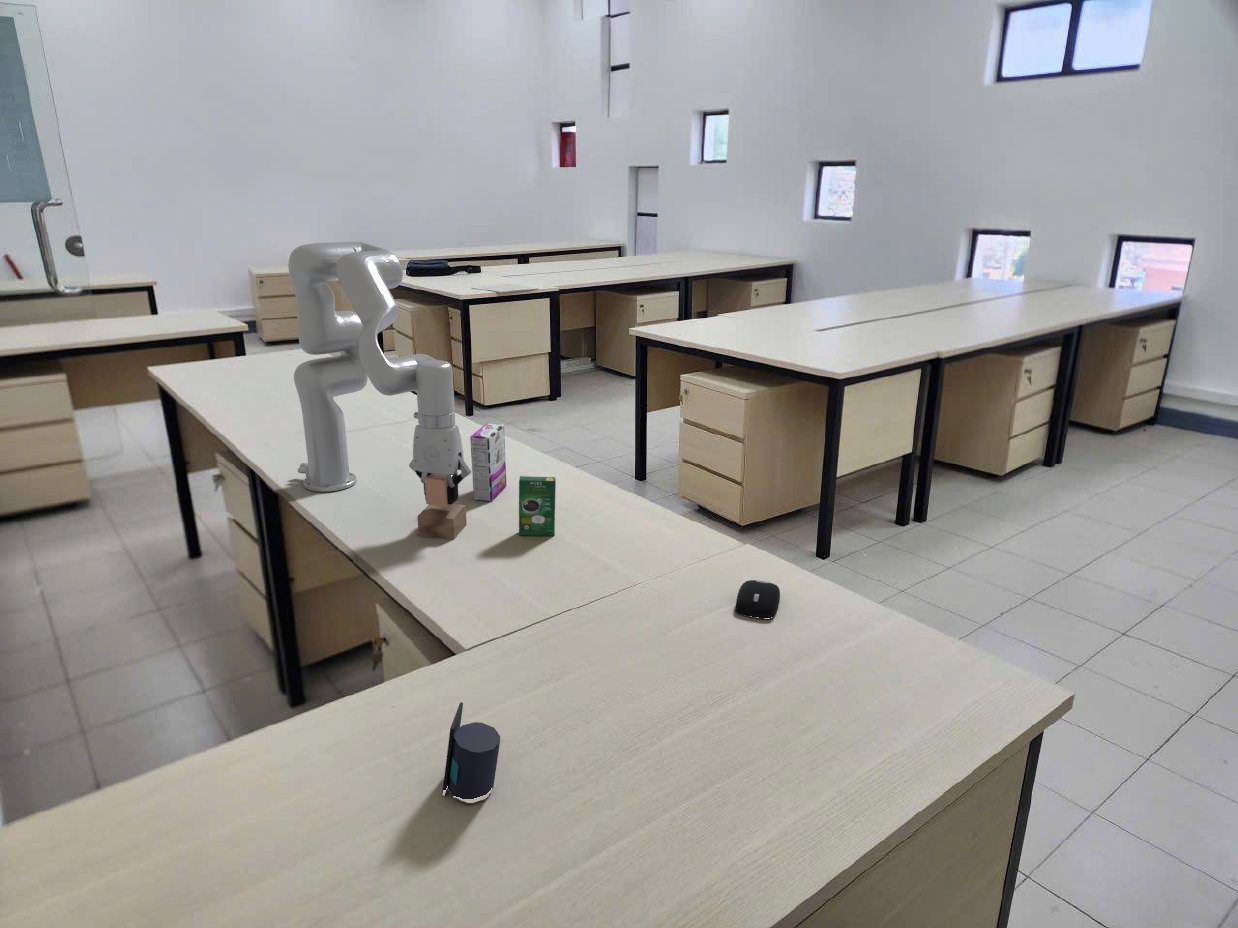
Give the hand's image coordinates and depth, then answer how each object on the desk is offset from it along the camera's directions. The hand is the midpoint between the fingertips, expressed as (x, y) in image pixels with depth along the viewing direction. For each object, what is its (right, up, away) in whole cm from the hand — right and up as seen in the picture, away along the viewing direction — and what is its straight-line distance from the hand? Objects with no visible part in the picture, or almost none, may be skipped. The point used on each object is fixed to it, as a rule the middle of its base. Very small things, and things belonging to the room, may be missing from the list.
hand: (441, 499), depth 178 cm
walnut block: (0, -7, +3) cm, 7 cm away
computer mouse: (+64, -18, -26) cm, 72 cm away
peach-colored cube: (0, 0, 0) cm, 0 cm away
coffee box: (+21, -8, +2) cm, 22 cm away
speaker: (+20, -34, -73) cm, 83 cm away
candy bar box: (+7, 0, +24) cm, 25 cm away
